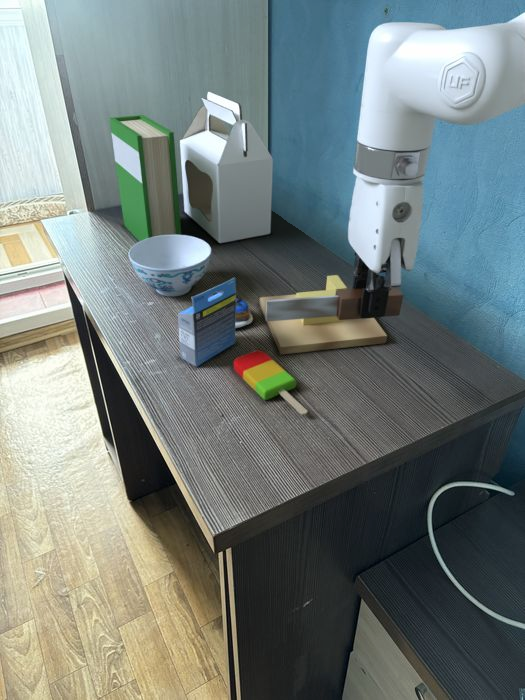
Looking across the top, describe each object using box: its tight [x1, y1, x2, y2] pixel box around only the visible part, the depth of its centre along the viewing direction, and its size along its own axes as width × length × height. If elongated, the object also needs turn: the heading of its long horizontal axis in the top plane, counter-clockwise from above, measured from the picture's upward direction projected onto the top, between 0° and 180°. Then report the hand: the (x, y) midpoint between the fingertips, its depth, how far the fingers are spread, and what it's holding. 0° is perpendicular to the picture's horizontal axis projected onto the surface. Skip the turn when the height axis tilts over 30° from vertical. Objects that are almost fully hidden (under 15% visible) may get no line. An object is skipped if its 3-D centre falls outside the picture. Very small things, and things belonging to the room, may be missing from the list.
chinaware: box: [128, 234, 212, 297], centre depth 97 cm, size 15×15×8 cm
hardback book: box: [108, 114, 182, 242], centre depth 113 cm, size 18×7×24 cm, turn 30°
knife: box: [265, 287, 404, 323], centre depth 64 cm, size 17×2×3 cm, turn 101°
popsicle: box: [233, 350, 308, 416], centre depth 75 cm, size 6×15×2 cm, turn 34°
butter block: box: [295, 289, 343, 325], centre depth 88 cm, size 7×5×4 cm
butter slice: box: [325, 274, 348, 290], centre depth 93 cm, size 2×5×4 cm, turn 12°
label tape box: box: [177, 277, 237, 368], centre depth 79 cm, size 9×4×12 cm, turn 139°
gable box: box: [179, 91, 274, 244], centre depth 119 cm, size 22×13×28 cm, turn 28°
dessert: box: [235, 297, 254, 329], centre depth 90 cm, size 8×7×6 cm
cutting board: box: [259, 293, 388, 356], centre depth 90 cm, size 18×16×2 cm
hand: (367, 309), depth 65 cm, fingers closed on knife, 2 cm apart
